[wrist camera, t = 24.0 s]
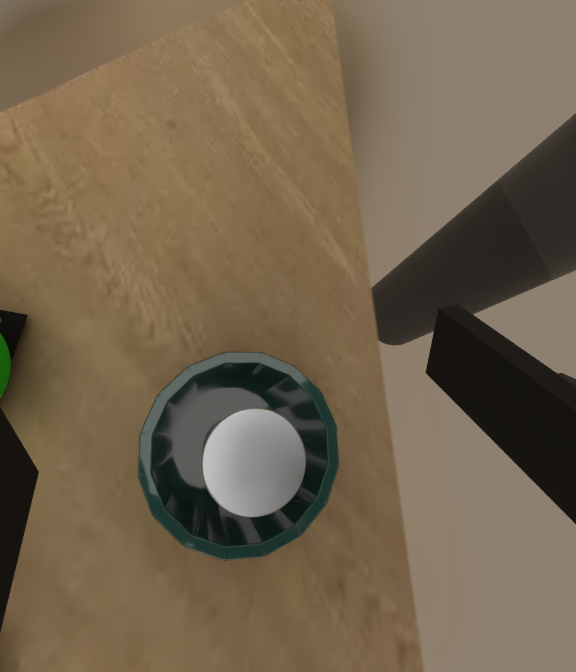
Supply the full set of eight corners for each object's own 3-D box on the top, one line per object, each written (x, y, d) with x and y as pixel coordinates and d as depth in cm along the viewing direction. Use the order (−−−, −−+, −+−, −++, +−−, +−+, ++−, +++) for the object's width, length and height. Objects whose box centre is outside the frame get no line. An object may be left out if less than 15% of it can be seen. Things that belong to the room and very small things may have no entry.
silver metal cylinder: (247, 408, 26) (281, 391, 14) (269, 461, 25) (322, 486, 14) (194, 431, 25) (184, 433, 13) (216, 486, 24) (226, 538, 13)
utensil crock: (270, 350, 28) (291, 324, 21) (328, 480, 26) (369, 498, 20) (133, 406, 25) (107, 397, 18) (190, 554, 24) (184, 602, 17)
